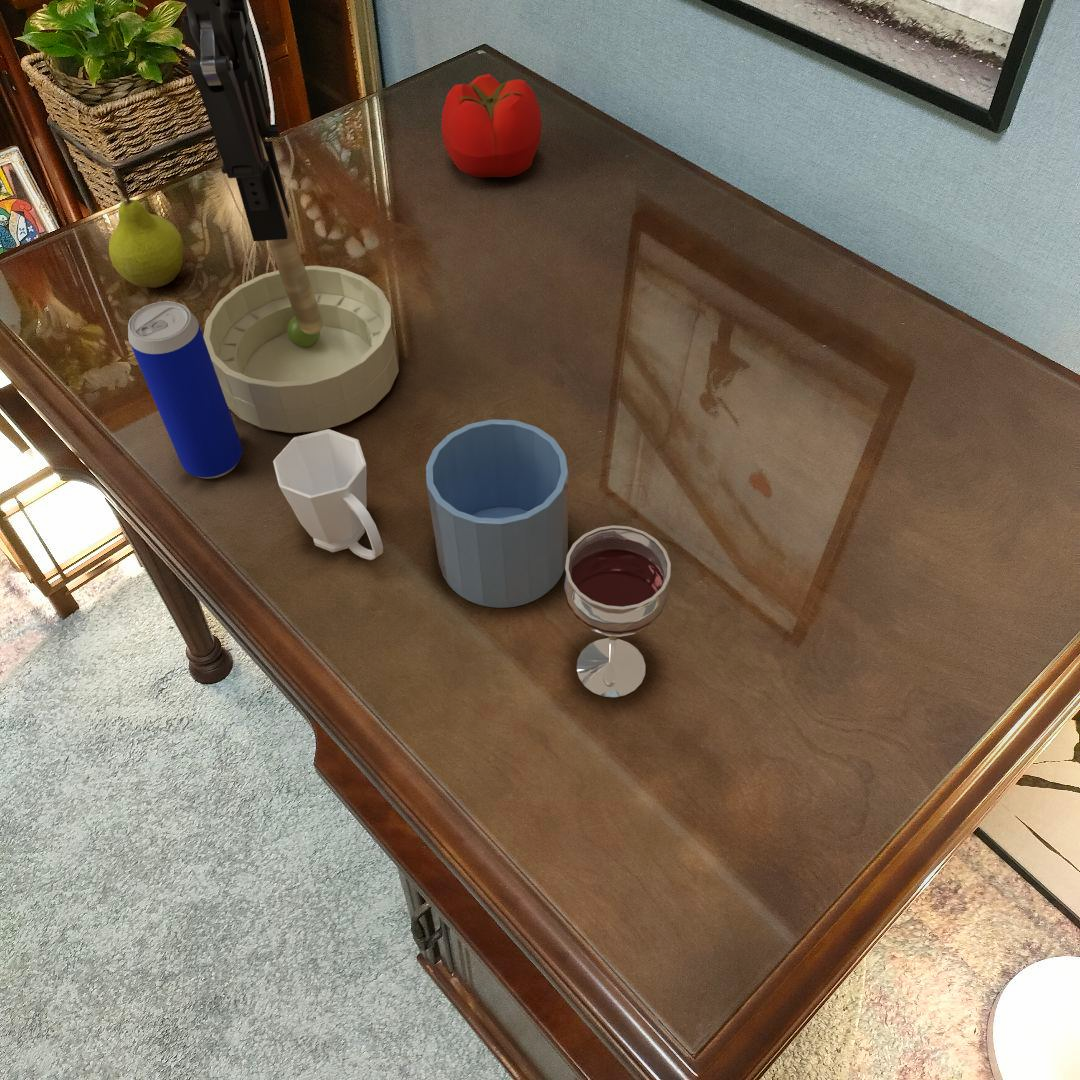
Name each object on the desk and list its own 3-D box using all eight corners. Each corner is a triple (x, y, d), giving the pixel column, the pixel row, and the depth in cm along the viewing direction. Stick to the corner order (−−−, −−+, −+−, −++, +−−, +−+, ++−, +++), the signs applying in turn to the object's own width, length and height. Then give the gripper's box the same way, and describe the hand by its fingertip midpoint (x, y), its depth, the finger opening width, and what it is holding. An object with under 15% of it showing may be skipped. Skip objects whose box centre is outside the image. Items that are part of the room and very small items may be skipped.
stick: (301, 341, 92) (227, 139, 77) (302, 325, 94) (230, 123, 78) (325, 337, 92) (255, 135, 77) (326, 322, 94) (258, 119, 78)
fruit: (135, 258, 105) (93, 151, 96) (200, 259, 105) (165, 151, 96) (115, 301, 101) (69, 192, 92) (183, 301, 101) (144, 193, 91)
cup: (348, 484, 85) (331, 415, 79) (421, 554, 80) (409, 486, 74) (277, 528, 82) (253, 459, 76) (348, 603, 77) (329, 536, 71)
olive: (294, 357, 94) (278, 330, 93) (299, 340, 97) (284, 313, 95) (323, 348, 94) (308, 320, 92) (327, 331, 96) (313, 304, 94)
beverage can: (221, 429, 89) (170, 289, 78) (256, 459, 87) (208, 319, 75) (171, 460, 87) (110, 321, 75) (205, 492, 85) (148, 353, 73)
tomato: (551, 141, 118) (550, 64, 111) (526, 199, 111) (524, 120, 104) (462, 131, 120) (456, 55, 113) (432, 188, 112) (424, 110, 105)
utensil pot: (441, 614, 77) (428, 530, 69) (437, 512, 83) (424, 424, 75) (573, 602, 77) (575, 517, 69) (559, 501, 83) (559, 413, 76)
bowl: (212, 444, 88) (193, 393, 84) (230, 324, 98) (213, 272, 94) (400, 429, 89) (391, 378, 84) (398, 311, 99) (390, 259, 94)
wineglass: (674, 690, 72) (690, 590, 63) (585, 721, 71) (588, 624, 61) (635, 616, 76) (645, 512, 67) (550, 644, 75) (548, 542, 65)
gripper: (236, -43, 61) (313, 280, 80) (256, -135, 71) (321, 173, 89) (109, -34, 61) (216, 288, 79) (147, -128, 70) (234, 179, 89)
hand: (271, 226), depth 84 cm, fingers closed on stick, 2 cm apart
